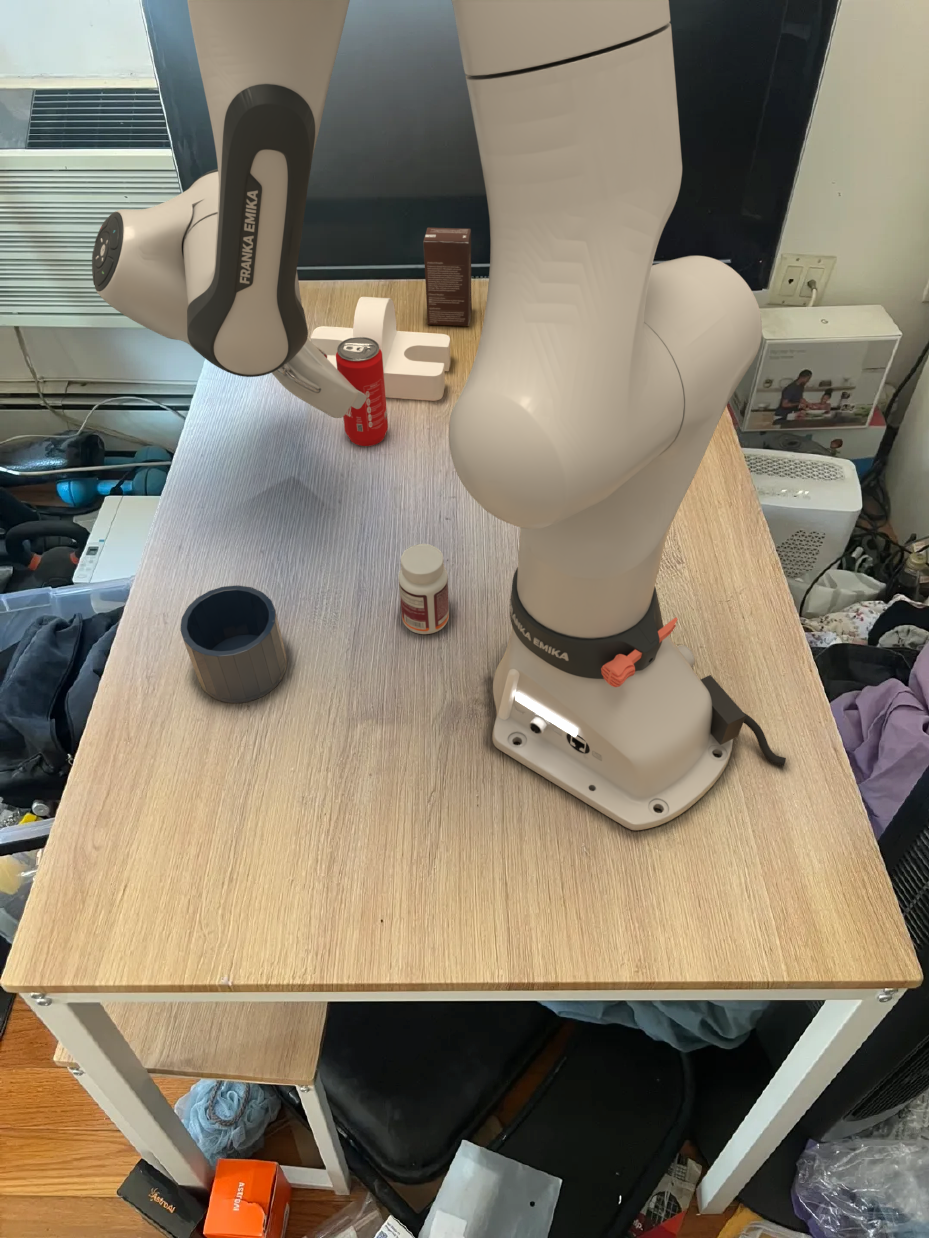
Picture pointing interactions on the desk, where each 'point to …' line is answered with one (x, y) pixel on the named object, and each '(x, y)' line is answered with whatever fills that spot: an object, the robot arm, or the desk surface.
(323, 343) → the white u-slot block
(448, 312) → the box
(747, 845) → the desk surface
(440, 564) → the pill bottle
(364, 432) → the beverage can
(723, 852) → the desk surface
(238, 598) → the faceted open cup
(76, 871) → the desk surface
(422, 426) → the desk surface
